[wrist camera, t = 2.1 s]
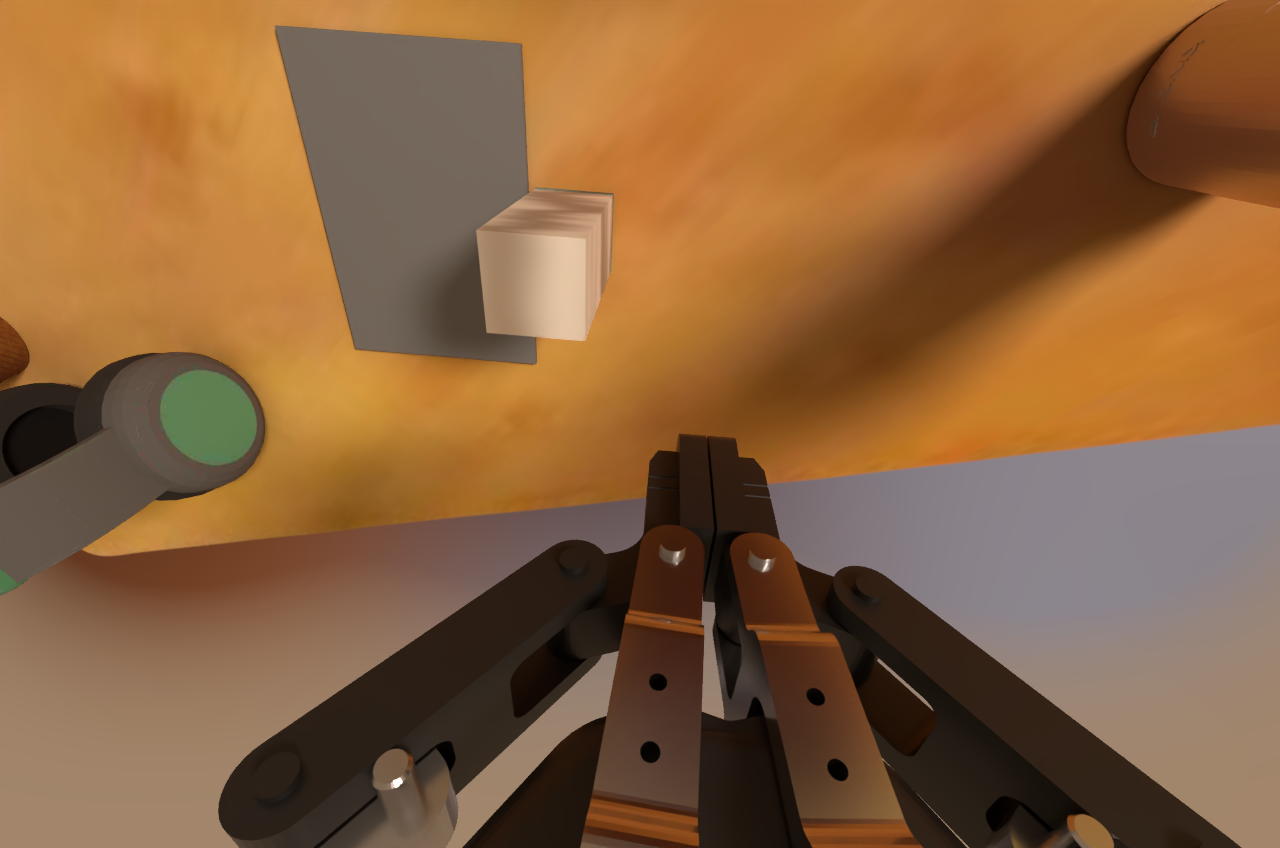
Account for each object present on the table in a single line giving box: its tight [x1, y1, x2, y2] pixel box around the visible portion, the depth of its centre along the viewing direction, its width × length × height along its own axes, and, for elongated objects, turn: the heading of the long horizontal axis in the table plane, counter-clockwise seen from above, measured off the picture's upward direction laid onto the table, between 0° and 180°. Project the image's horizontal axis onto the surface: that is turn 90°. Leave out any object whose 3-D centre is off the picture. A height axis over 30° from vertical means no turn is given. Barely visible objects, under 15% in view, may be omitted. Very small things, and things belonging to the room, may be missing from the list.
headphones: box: [0, 352, 265, 595], centre depth 37 cm, size 19×11×20 cm, turn 105°
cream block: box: [476, 188, 614, 341], centre depth 30 cm, size 5×5×12 cm
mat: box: [275, 26, 537, 364], centre depth 35 cm, size 14×20×1 cm
